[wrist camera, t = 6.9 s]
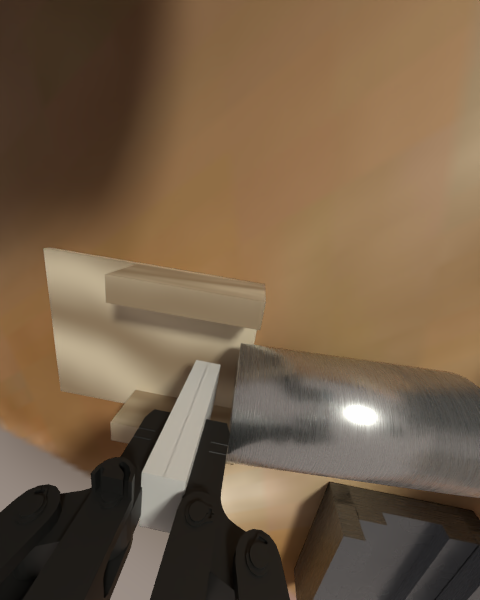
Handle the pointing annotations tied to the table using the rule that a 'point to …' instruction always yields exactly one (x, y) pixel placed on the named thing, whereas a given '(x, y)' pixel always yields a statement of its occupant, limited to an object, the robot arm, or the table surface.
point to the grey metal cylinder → (355, 420)
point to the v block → (388, 549)
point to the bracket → (146, 331)
